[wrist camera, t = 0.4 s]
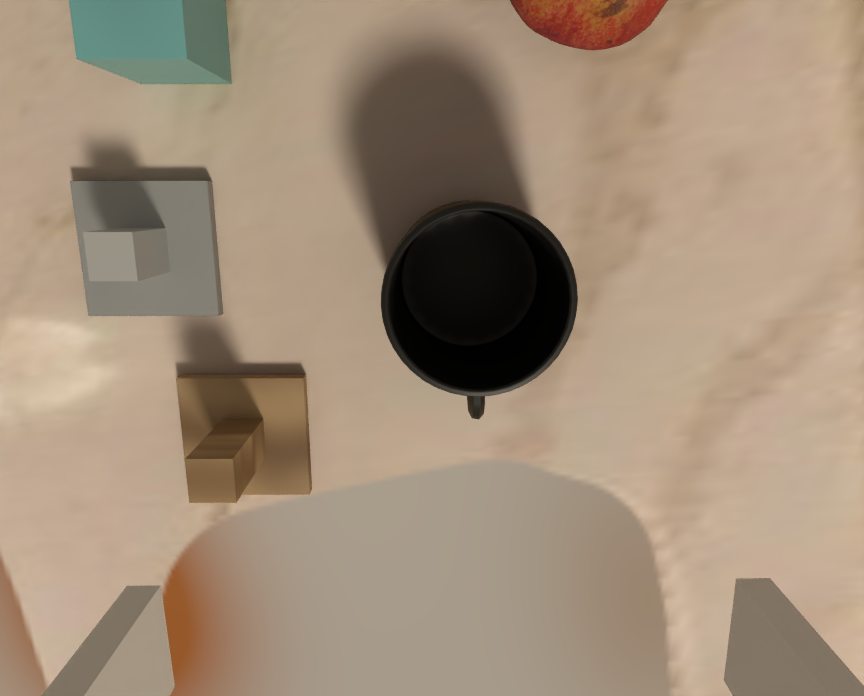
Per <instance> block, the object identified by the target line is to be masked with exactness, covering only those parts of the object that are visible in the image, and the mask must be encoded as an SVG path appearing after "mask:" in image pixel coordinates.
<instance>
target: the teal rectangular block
mask: <svg viewBox="0 0 864 696" xmlns="http://www.w3.org/2000/svg"><path fill="white" fill-rule="evenodd" d="M69 4H70V12H71V20H72V27H73V35H74V43H75V51H76V58H77V59H78V60H80V61H83V62H85V63H88V64H91V65H93V66H96V67H98V68H101V69H104V70H106V71H109V72H111V73H114V74H117V75H119V76H122V77H124V78H127V79H130V80H132V81H135V82H137V83H140V84H232V82H231V69H230V55H229V42H228V28H227V14H226V1H225V0H69Z"/></svg>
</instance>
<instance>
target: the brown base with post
mask: <svg viewBox="0 0 864 696" xmlns="http://www.w3.org/2000/svg"><path fill="white" fill-rule="evenodd" d="M176 379H177V389H178V398H179V408H180V417H181V427H182V436H183V446H184V456H185V465H186V475H187V484H188V494H189V503H237V501H238V499H239V498H240V496H241V495H284V494H310V492H311V490H312V481H311V461H310V442H309V423H308V404H307V385H306V375H180V376H179V377H178V378H176Z"/></svg>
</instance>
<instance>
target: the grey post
mask: <svg viewBox="0 0 864 696" xmlns="http://www.w3.org/2000/svg"><path fill="white" fill-rule="evenodd" d="M70 184H71V192H72V199H73V206H74V214H75V221H76V228H77V235H78V243H79V250H80V257H81V265H82V272H83V279H84V287H85V294H86V301H87V308H88V316H219V315H221V314H223V308H222V296H221V284H220V272H219V260H218V248H217V236H216V224H215V212H214V200H213V188H212V181H70Z"/></svg>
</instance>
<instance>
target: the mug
mask: <svg viewBox="0 0 864 696" xmlns="http://www.w3.org/2000/svg"><path fill="white" fill-rule="evenodd" d="M577 302H578V296H577V283H576V278H575V274H574V269H573V267H572V264H571V262H570V259H569V257H568V255H567V253H566V251H565V250H564V248H563V246H562V244H561V243H560V241H559V240H558V239H557V238H556V237H555V236H554V234H553V233H552V232H551V231H550V230H549V229H548V228H547V227H546V226H545V225H543V224H542V223H541V222H540V221H539V220H537V219H536V218H534V217H532V216H531V215H529V214H527V213H525V212H523V211H521V210H519V209H516V208H514V207H511V206H508V205H503V204H499V203H492V202H483V201H469V200H468V201H459V202H453V203H450V204H446V205H443V206H441V207H439V208H436V209H434V210H433V211H431V212H429V213H428V214H426V215H425V216H423V217H422V218H421V219H420V220H419V221H417V222H416V223H415V224H414V225H413V226H412V227H411V229H410V230H409V231H408V233H407V234H406V235H405V236H404V238H403V239H402V241H401V242H400V243H399V245H398V246H397V248H396V250H395V252H394V253H393V255H392V257H391V259H390V261H389V263H388V266H387V269H386V272H385V274H384V279H383V284H382V291H381V310H382V318H383V323H384V326H385V330H386V333H387V336H388V338H389V340H390V342H391V344H392V346H393V348H394V350H395V351H396V353H397V354H398V356H399V357H400V359H401V360H402V361H403V362H404V364H405V365H406V366H407V367H408V368H409V369H410V370H411V371H412V372H413V373H415V374H416V375H417V376H418V377H420V378H421V379H422V380H424V381H425V382H427V383H429V384H431V385H433V386H434V387H437V388H439V389H441V390H444V391H447V392H450V393H454V394H459V395H464V396H467V401H468V411H469V413H470V415H471V417H472V418H474V419H480V417H481V416H482V415H483V414H484V406H485V396H491V395H497V394H501V393H505V392H509V391H512V390H514V389H516V388H519V387H521V386H523V385H525V384H527V383H528V382H530V381H532V380H533V379H535V378H536V377H538V376H539V375H540V374H541V373H542V372H544V371H545V370H546V369H547V368H548V367H549V366H550V365H551V364H552V363H553V361H554V360H555V359H556V358H557V357H558V355H559V354H560V352H561V351H562V349H563V348H564V346H565V344H566V342H567V340H568V338H569V336H570V334H571V331H572V329H573V325H574V321H575V317H576V312H577Z"/></svg>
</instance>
